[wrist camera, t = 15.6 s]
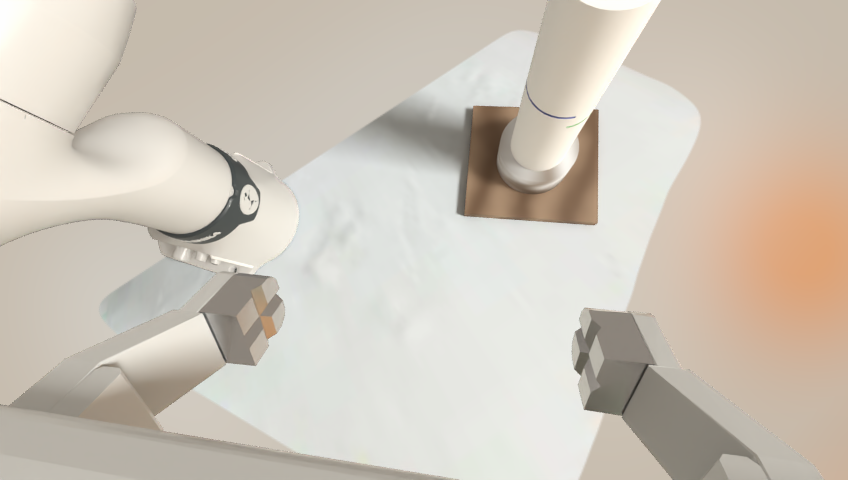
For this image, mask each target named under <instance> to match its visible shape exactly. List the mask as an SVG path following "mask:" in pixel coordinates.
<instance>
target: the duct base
mask: <svg viewBox="0 0 848 480" xmlns="http://www.w3.org/2000/svg"><path fill="white" fill-rule="evenodd" d="M519 108H520V107H496V106H473V118H472V130H471V141H470V153H469V165H468V177H467V189H466V201H465V213H464V216H471V217H485V218H499V219H514V220H528V221H543V222H557V223H571V224H586V225H595V224H597V223H598V110H593V111H592V113H591V114H590V116H589V118H588V119H587V121H586V123H585V124H584V126H583V127H582V129H581V131H580V132H579V134H578V135H577V137H576V139H575V140H574V142H573V144H572V145H571V147H570V148H569V150H568V152H567V153H566V155H565V157H564V158H563V160H562V161H561V162H560V163H559V164H558V165H556V166H555V167H553V168H551V169H549V170H545V171H533V170H529V169H527V168H525V167H523V166H521V165H520V164H519V163H518V162H517V161H516V160H515V158H514V157H513V155H512V152H511V146H510V145H511V139H512V135H513V131H514V127H515V123H516V119H517V116H518V112H519Z"/></svg>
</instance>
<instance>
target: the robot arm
mask: <svg viewBox="0 0 848 480" xmlns="http://www.w3.org/2000/svg"><path fill="white" fill-rule="evenodd" d="M135 13H136V4H135V1H134V0H0V100H2V101H4V102H6V103H8V104H10V105H12V106H15V107H17V108H19V109H21V110H23V111H25V112H28V113H30V114H32V115H34V116H36V117H39V118H40V119H43V120H45V121H47V122H49V123H51V124H53V125H56V126H58V127H60V128H62V129H64V130H67V131H69V132H65V131H63V130H61V129H59V128H56V127H55V126H53V125H51V124H48V123H46V122H44V121H42V120H40V119H38V118H36V117H33V116H31V115H29V114H27V113H25V112H23V111H21V110H19V109H16V108H14V107H12V106H10V105H8V104H6V103H4V102H1V101H0V246H2V245H4V244H5V243H8V242H10V241H13V240H15V239H18V238H20V237H22V236H25V235H28V234H31V233H34V232H37V231H40V230H43V229H47V228H51V227H54V226H58V225H63V224H68V223H73V222H79V221H86V220H100V219H101V220H103V219H104V220H106V219H107V220H116V221H122V222H128V223H133V224H138V225H142V226H146V227H148V231H149V234H150V236H151V237H152V238H153V239H156V240H158V243H159V248H160V251H161V253H162V254H163V255H164V256H166V257H169V258H172V259H175V260H178V261H181V262H184V263H187V264H191V265H194V266H197V267H200V268H203V269H206V270H209V271H212V272H215V273H216V274H215V275H214V276H213V277H212V278H211V279H210V280H209V281H208V282H207V283H206V284H205V285H204V286H203V287H202V288H201V289H200V290H199V291H198V292H197V293H196V294H195V295H194V296H193V297H192V298H191V299H190V300H189V301H188V302H187V303H186V304H185V305H184V306H183V307H182V308H181V309H180V310H172V311H170V312H167V313H165V314H163V315H161V316H159V317H156V318H154V319H152V320H150V321H148V322H145V323H143V324H141V325H139V326H136V327H134V328H132V329H130V330H128V331H125V332H123V333H121V334H119V335H117V336H114V337H112V338H110V339H108V340H105V341H103V342H101V343H99V344H97V345H94V346H92V347H90V348H88V349H85V350H83V351H81V352H79V353H77V354H74V355H72V356H70V357H68V358H66V359H64V360H63V361H62V362H61V363H59V364H58V365H57V366H56V367H55V368H53V370H51V371H50V372H49V373H47V374H46V375H45V376H44V377H43V378H42V379H40V380H39V381H38V382H37V383H35V384H34V385H33V386H32V387H31V388H30V389H28V390H27V391H26V392H25V393H23V394H22V395H21V396H20V397H19V398H18V399H16V400H15V401H14V402H13V403H12V404H10V405H9V406H7V405H1V404H0V480H459V479H453V478H447V477H441V476H434V475H428V474H422V473H416V472H410V471H404V470H398V469H392V468H386V467H380V466H373V465H367V464H361V463H355V462H349V461H343V460H336V459H330V458H324V457H318V456H312V455H306V454H300V453H293V452H287V451H281V450H274V449H269V448H263V447H257V446H251V445H245V444H238V443H232V442H226V441H220V440H213V439H208V438H201V437H195V436H189V435H183V434H177V433H171V432H165V431H163V428H162V426H161V425H160V424H159V422H158V421H157V420H156V418H155V417H154V416H156V415H157V414H158V413H160V412H161V411H162V410H164V409H165V408H167V407H168V406H169V405H171V404H172V403H174V402H175V401H176V400H178V399H179V398H180V397H182V396H183V395H185V394H186V393H187V392H189V391H190V390H191V389H193V388H194V387H196V386H197V385H198V384H200V383H201V382H203V381H204V380H205V379H207V378H208V377H209V376H211V375H212V374H214V373H215V372H216V371H218V370H219V369H220V368H222V367H223V366H225V365H226V363H233V364H243V365H252V366H256V365H257V363H258V362H259V360H260V359H261V357H262V356H263V354H264V353H265V351H266V350H267V348H268V347H269V344H268V339H269V338H270V337H272V336H273V335H275V334H277V333H278V331H279V329H280V328H281V326H282V323H283V320H284V316H285V306H284V303H283V300H282V299H281V298H280V297H279V296H278V295H277V294H276V293H277V291H278V290H279V286H278V283H277V280H276V279H275V278H273V277H270V276H262V275H254V273H255V272H256V271H257V270H258V269H259V267H261V266H262V265H264V264H265V263H267V262H269V261H271V260H273V259H274V258H276V257H277V256H279V255H280V254H281V253H282V252H283V251H284V250H285V249H286V248H287V247H288V245H289V244H290V242H291V241H292V239H293V237H294V235H295V233H296V230H297V226H298V221H299V209H298V204H297V200H296V198H295V196H294V194H293V192H292V191H291V190H290V189H289V187H288V186H287V185H285V184H284V183H283V182H282V181H281V180H280V179H279V178H278V177H277V175H276V173H275V170H274V169H273V167H272V165H271V164H269V163H267V162H266V161H259V162H253V161H252V160H250V159H248V158H246V157H245V156H243V155H241V154H239V153H234V154H229V153H227V152H226V151H223V150H222V149H219V148H217V147H215V146H213V145H210V144H206V143H204V142H203V141H201V140H200V139H198V138H197V137H195V136H194V135H192V134H191V133H189V132H188V131H186V130H185V129H184V128H182V127H181V126H179V125H178V124H176V123H175V122H173V121H172V120H170V119H168V118H166V117H163V116H160V115H156V114H152V113H144V112H131V113H120V114H114V115H110V116H107V117H104V118H102V119H99V120H97V121H95V122H93V123H91V124H89V125H87V126H85V127H83V128H80V129H78V130H77V128H78V127H79V125H80V124H81V122H82V121H83V119H84V118H85V116H86V114H87V113H88V112H89V110H90V109H91V107H92V105H93V104H94V102H95V101H96V99H97V98H98V96H99V95H100V93H101V92H102V90H103V89H104V87H105V86H106V84H107V83H108V81H109V80H110V78H111V76H112V75H113V73H114V72H115V70H116V69H117V67H118V66H119V64H120V61H121V58H122V56H123V53H124V50H125V47H126V44H127V41H128V38H129V35H130V31H131V28H132V24H133V20H134V17H135ZM236 268H237V272H236V273H235V269H236ZM579 321H580V324H581V328H580V329H578V330H577V331H575V334H574V337H573V341H572V361H573V365H574V369H575V370H576V371H577V372H578V373H579V374H580V375H581V377H580V380H579V383H578V387H579V392H580V396H581V400H582V404H583V408H584V410H589V411H595V412H602V413H608V414H614V415H621V416H622V418H623V420H624V421H625V422H626V423H627V425H628V426H629V427H630V428H631V429H632V431H633V432H634V433H635V434H636V435H637V437H638V438H639V439H640V440H641V442H642V443H643V444H644V445H645V447H646V448H647V449H648V450H649V451H650V453H651V454H652V455H653V456H654V457H655V458H656V460H657V461H658V462H659V464H660V465H661V466H662V467H663V468H664V469H665V471H666V472H667V473H668V474H669V476H670V477H671V478H672V479H673V480H824V479H823V477H822V476H821V474H820V473H819V471H818V470H817V468H816V467H815V466H814V465H813V464H812V463H811V462H810V461H808V460H807V459H805V458H804V457H803V456H802V455H800V454H799V453H798V452H796V451H795V450H794V449H792V448H791V447H790V446H788V445H787V444H786V443H785V442H783V441H782V440H781V439H779V438H778V437H777V436H776V435H774V434H773V433H772V432H770V431H769V430H768V429H766V428H765V427H763V426H762V425H761V424H760V423H759V422H757V421H756V420H755V419H753V418H752V417H751V416H749V415H748V414H747V413H745V412H744V411H743V410H742V409H740V408H739V407H738V406H736V405H735V404H734V403H732V402H731V401H730V400H729V399H727V398H726V397H725V396H723V395H722V394H721V393H719V392H718V391H717V390H715V389H714V388H713V387H711V386H710V385H709V384H708V383H706V382H705V381H704V380H702V379H701V378H700V377H698V376H697V375H696V374H695V373H693V372H692V371H691V370H688V369H682V367H681V365H680V363H679V361H678V360H677V358H676V356H675V354H674V352H673V350H672V349H671V347H670V345H669V343H668V341H667V339H666V337H665V335H664V334H663V332H662V330H661V328H660V326H659V324H658V322H657V320H656V319H655V317H654V316H653V315H652V314H651V313H641V312H630V311H628V312H625V311H615V310H604V309H593V308H584V309H583V310H582V312H581V315H580V318H579Z"/></svg>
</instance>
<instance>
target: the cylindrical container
mask: <svg viewBox="0 0 848 480" xmlns="http://www.w3.org/2000/svg"><path fill="white" fill-rule="evenodd" d="M660 1H661V0H547V4H546V8H545V12H544V16H543V19H542V23H541V27H540V31H539V35H538V39H537V43H536V46H535V50H534V54H533V58H532V62H531V66H530V70H529V73H528V77H527V81H526V85H525V89H524V93H523V96H522V100H521V104H520V108H519V112H518V116H517V119H516V123H515V127H514V131H513V135H512V139H511V145H510V146H511V152H512V155H513V157H514V158H515V160H516V161H517V162H518V163H519V164H520V165H521V166H523V167H525V168H527V169H529V170H533V171H545V170H549V169H551V168H553V167H555V166H556V165H558V164H559V163H560V162H561V161H562V160H563V158H564V157H565V155H566V153H567V152H568V150H569V148H570V147H571V145H572V144H573V142H574V140H575V139H576V137H577V135H578V134H579V132H580V131H581V129H582V127H583V126H584V124H585V123H586V121H587V119H588V118H589V116H590V114H591V113H592V111H593V110H594V108H595V106H596V105H597V103H598V101H599V100H600V98H601V97H602V95H603V93H604V92H605V90H606V88H607V87H608V85H609V84H610V82H611V80H612V79H613V77H614V75H615V74H616V72H617V71H618V69H619V67H620V66H621V64H622V62H623V61H624V59H625V58H626V56H627V54H628V53H629V51H630V49H631V48H632V46H633V45H634V43H635V41H636V40H637V38H638V36H639V35H640V33H641V32H642V30H643V28H644V27H645V25H646V23H647V22H648V20H649V18H650V17H651V15H652V14H653V12H654V10H655V9H656V7H657V6H658V4H659V2H660Z"/></svg>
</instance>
